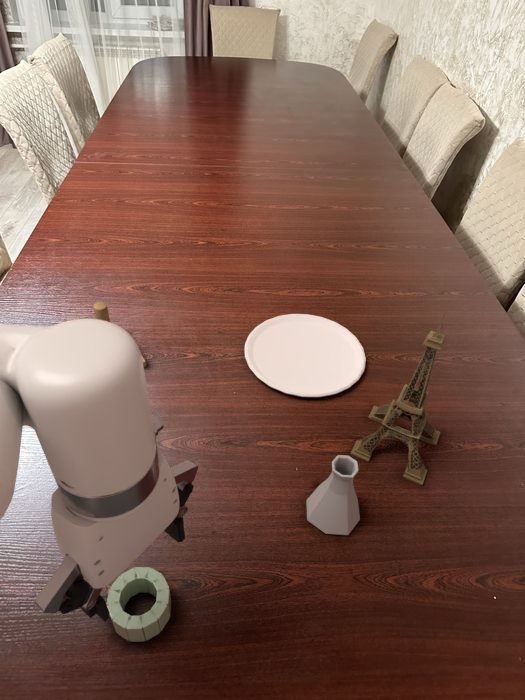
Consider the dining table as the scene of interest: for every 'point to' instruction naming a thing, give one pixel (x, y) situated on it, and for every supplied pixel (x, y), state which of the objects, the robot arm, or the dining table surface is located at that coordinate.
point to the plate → (305, 355)
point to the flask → (336, 499)
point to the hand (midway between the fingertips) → (136, 568)
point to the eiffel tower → (407, 415)
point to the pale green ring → (130, 586)
